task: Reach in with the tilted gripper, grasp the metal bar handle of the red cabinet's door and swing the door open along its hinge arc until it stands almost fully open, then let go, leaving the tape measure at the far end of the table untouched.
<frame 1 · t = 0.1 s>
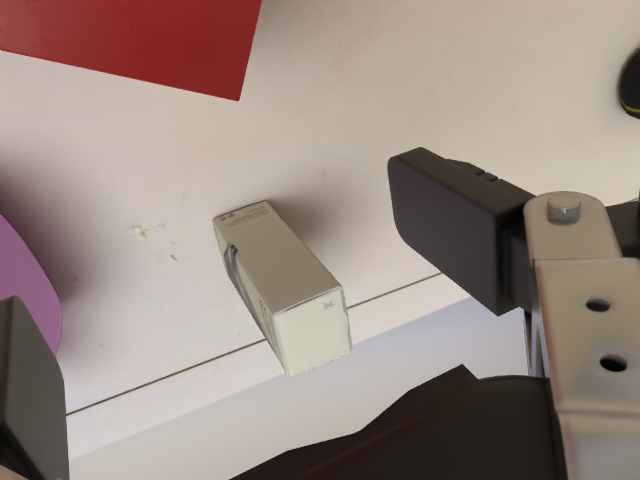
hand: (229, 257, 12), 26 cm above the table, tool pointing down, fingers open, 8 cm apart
box: (246, 237, 43), on the table
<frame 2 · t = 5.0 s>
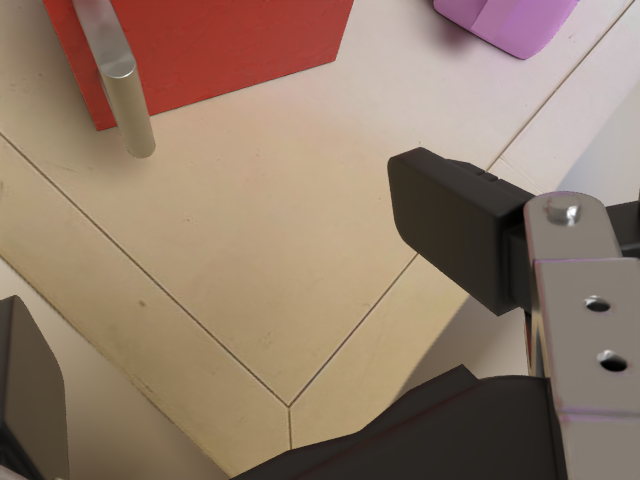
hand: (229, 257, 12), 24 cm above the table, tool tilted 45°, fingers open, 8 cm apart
door: (239, 48, 32), point 8 cm above the table, hinge at 0.0°
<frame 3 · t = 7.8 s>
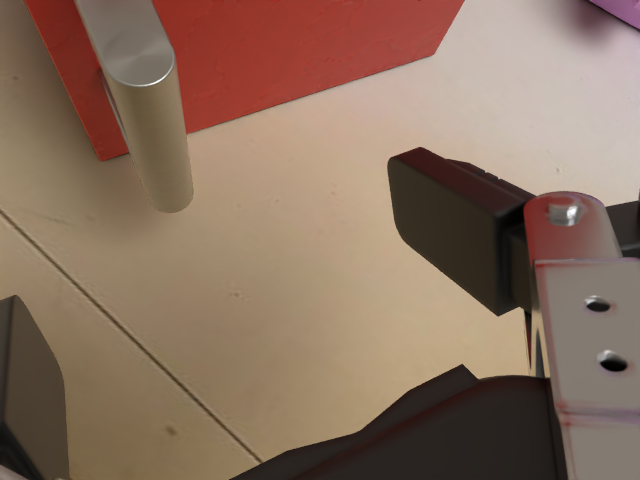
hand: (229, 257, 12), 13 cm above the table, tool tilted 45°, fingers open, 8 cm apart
door: (330, 33, 19), point 8 cm above the table, hinge at 0.0°
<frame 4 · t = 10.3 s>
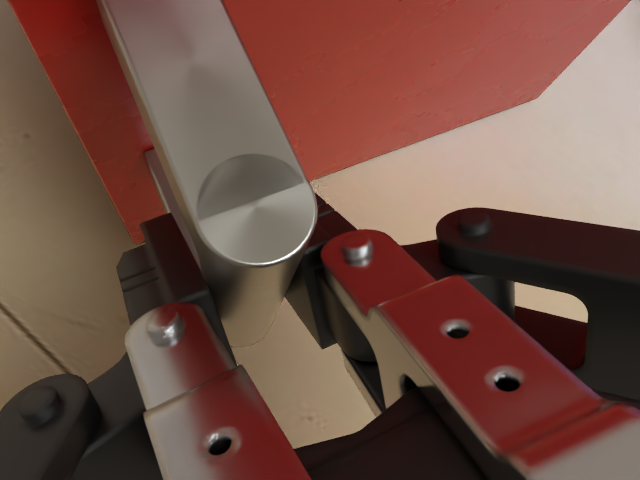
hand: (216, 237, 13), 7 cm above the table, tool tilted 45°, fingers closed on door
door: (467, 102, 14), point 8 cm above the table, hinge at 0.0°, touching gripper
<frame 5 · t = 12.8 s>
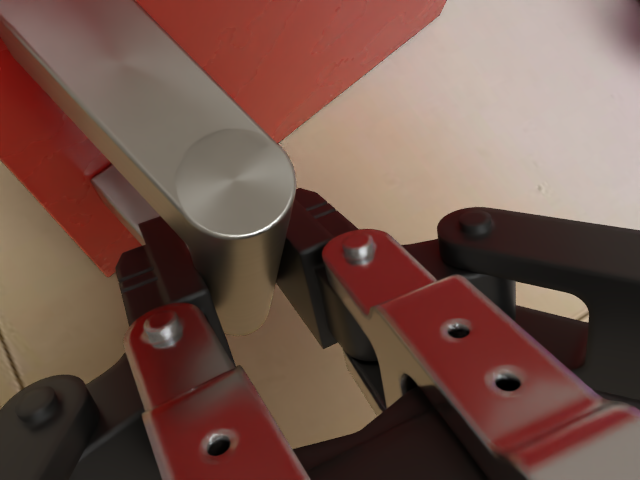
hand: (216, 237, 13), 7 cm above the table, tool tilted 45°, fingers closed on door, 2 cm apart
door: (383, 32, 14), point 8 cm above the table, hinge at 38.6°, touching gripper
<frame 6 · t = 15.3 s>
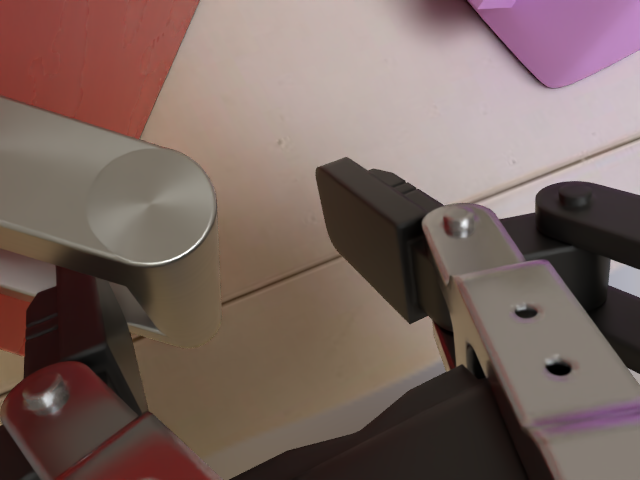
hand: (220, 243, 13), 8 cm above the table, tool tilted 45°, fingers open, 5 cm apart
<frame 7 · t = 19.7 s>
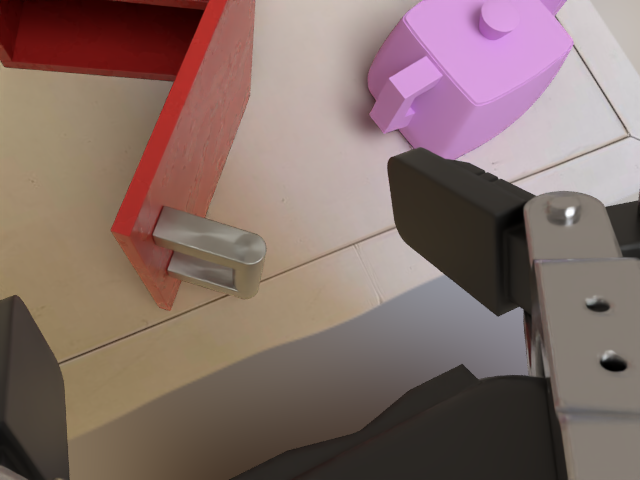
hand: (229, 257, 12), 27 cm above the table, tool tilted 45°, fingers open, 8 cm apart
red cabinet: (135, 17, 45), on the table
door: (245, 155, 34), point 8 cm above the table, hinge at 74.7°
teapot: (448, 96, 47), on the table
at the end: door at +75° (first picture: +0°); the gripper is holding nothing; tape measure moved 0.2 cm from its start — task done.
